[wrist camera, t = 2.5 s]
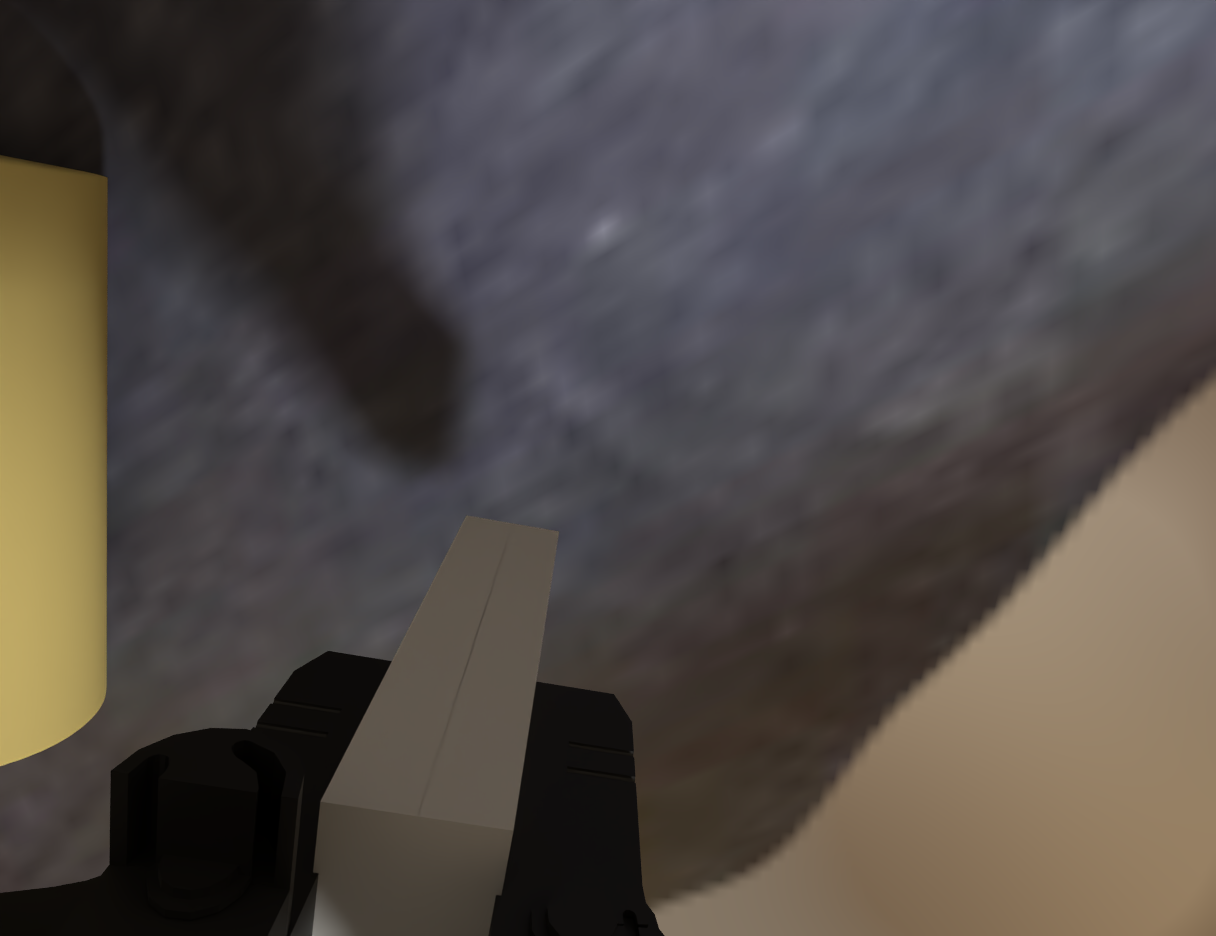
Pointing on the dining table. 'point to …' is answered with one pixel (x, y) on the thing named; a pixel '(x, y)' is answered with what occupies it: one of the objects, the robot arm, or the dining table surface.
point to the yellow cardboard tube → (52, 453)
